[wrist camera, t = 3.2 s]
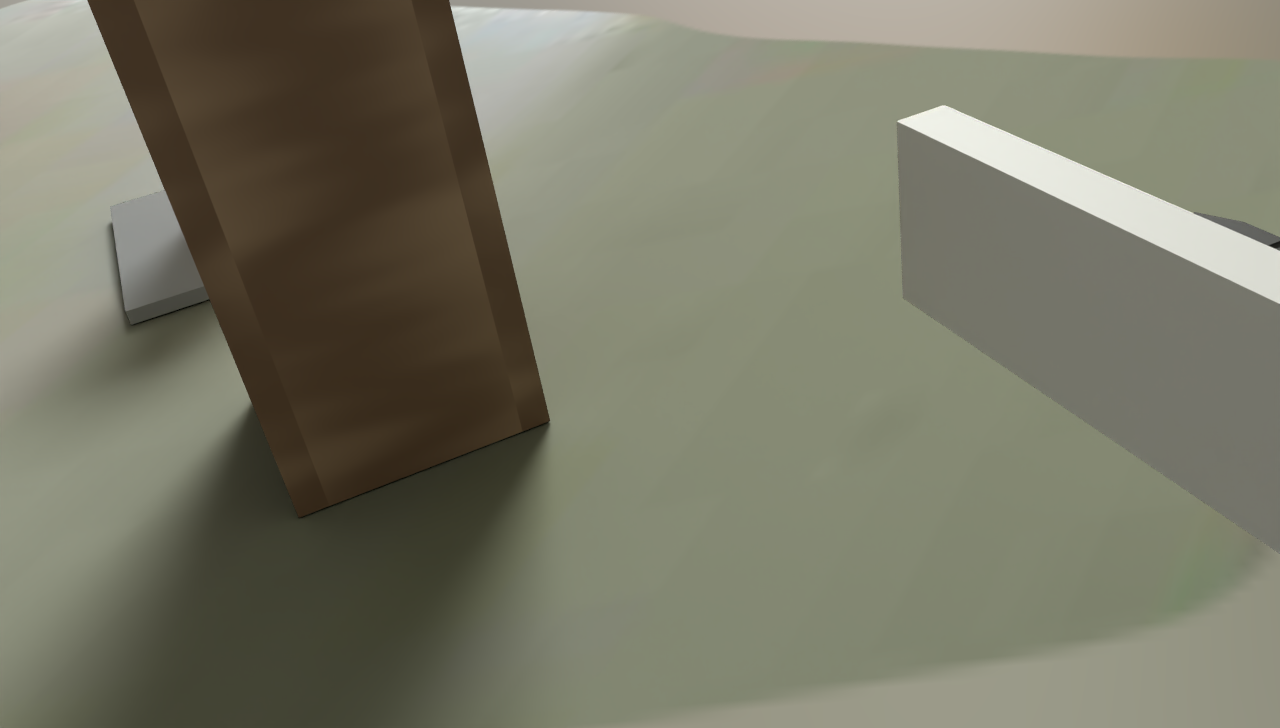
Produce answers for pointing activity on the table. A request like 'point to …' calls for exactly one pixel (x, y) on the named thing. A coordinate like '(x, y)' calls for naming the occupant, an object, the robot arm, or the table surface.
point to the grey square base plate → (154, 259)
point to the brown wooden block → (337, 226)
